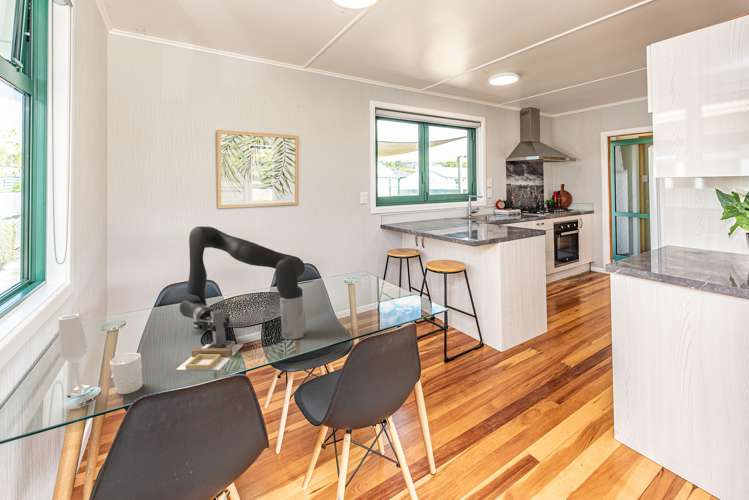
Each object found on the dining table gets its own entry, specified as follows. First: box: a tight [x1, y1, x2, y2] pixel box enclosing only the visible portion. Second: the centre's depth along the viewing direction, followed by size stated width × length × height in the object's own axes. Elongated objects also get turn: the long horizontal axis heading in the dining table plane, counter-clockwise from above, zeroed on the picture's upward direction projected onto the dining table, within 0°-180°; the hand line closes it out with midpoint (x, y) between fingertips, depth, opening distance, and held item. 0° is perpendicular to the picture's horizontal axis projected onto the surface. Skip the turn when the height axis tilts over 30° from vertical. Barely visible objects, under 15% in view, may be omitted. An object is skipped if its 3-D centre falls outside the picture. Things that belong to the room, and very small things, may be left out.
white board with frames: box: [175, 340, 245, 371], centre depth 130 cm, size 20×15×4 cm
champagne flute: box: [58, 313, 90, 390], centre depth 108 cm, size 7×7×24 cm
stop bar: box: [210, 308, 227, 348], centre depth 135 cm, size 4×4×14 cm
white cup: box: [109, 352, 143, 395], centre depth 110 cm, size 8×8×10 cm
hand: (220, 327), depth 133 cm, fingers closed on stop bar, 3 cm apart
